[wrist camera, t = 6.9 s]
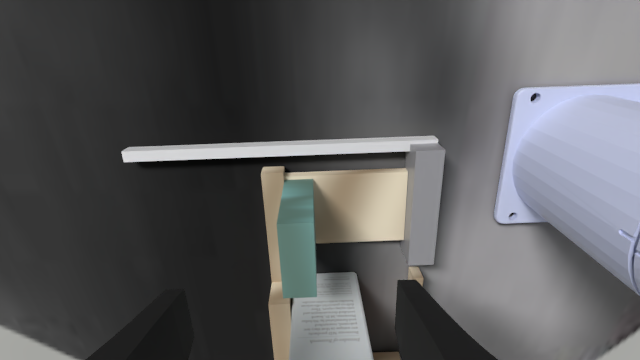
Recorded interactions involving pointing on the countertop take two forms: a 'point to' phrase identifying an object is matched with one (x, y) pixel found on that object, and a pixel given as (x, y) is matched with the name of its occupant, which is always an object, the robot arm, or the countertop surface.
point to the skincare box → (330, 321)
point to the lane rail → (419, 162)
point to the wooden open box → (324, 230)
